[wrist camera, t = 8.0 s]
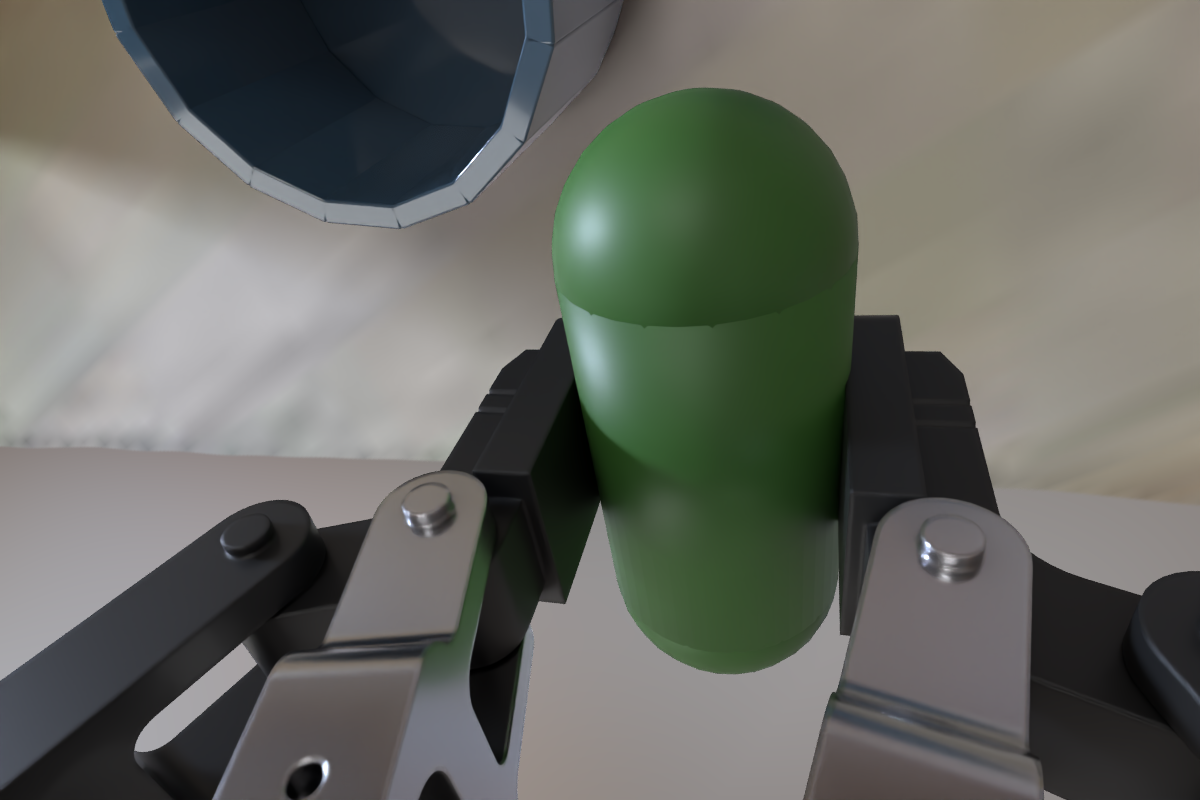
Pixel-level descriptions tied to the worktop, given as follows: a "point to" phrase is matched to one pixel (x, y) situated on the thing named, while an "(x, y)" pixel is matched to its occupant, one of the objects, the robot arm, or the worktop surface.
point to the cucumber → (713, 366)
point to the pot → (367, 91)
